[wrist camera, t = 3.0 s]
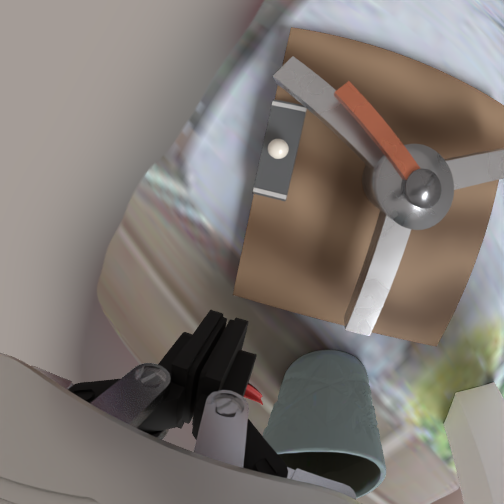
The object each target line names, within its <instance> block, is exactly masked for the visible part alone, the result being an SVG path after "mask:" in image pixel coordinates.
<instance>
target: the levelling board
mask: <svg viewBox="0 0 504 504" xmlns="http://www.w3.org/2000/svg"><path fill="white" fill-rule="evenodd" d="M292 56H293V57H295V58H296V59H298V60H299V61H300V62H302V63H303V64H304V65H306V66H307V67H308V68H309V69H311V70H312V71H313V72H315V73H316V74H317V75H318V76H320V77H321V78H322V79H323V80H324V81H326V82H327V83H328V84H329V85H331V86H332V87H333V88H334V89H335V90H336V91H337V90H338V89H339V88H340V87H342V86H343V85H344V84H346V83H347V82H348V81H350V82H351V83H352V85H353V86H354V87H355V88H356V89H357V90H358V91H359V92H360V93H361V94H362V95H363V96H364V97H365V99H366V100H367V101H368V102H369V103H370V104H371V105H372V106H373V108H374V109H375V110H376V111H377V112H378V113H379V115H380V116H381V117H382V118H383V119H384V121H385V122H386V123H387V124H388V125H389V127H390V128H391V129H392V130H393V132H394V133H395V134H396V136H397V137H398V138H399V139H400V141H401V142H402V143H403V145H407V144H421V145H425V146H428V147H430V148H432V149H433V150H435V151H436V152H438V153H439V154H440V155H441V156H442V157H443V158H444V159H447V158H452V157H457V156H462V155H467V154H472V153H477V152H483V151H488V150H494V149H500V148H504V105H502V104H501V103H499V102H498V101H496V100H494V99H493V98H491V97H489V96H488V95H486V94H484V93H483V92H481V91H479V90H477V89H476V88H474V87H472V86H470V85H468V84H466V83H464V82H462V81H460V80H458V79H456V78H454V77H452V76H450V75H448V74H446V73H444V72H442V71H440V70H437V69H435V68H433V67H431V66H428V65H426V64H424V63H421V62H419V61H416V60H414V59H411V58H408V57H406V56H403V55H400V54H397V53H395V52H392V51H389V50H386V49H383V48H379V47H376V46H373V45H370V44H366V43H363V42H359V41H355V40H351V39H348V38H344V37H339V36H335V35H330V34H326V33H321V32H316V31H310V30H304V29H298V28H292V27H291V30H290V34H289V39H288V43H287V47H286V52H285V56H284V60H283V65H284V64H285V63H286V62H287V61H288V60H289V59H290V58H291V57H292ZM283 65H282V66H283ZM275 100H280V101H285V102H290V103H295V104H300V105H302V104H301V103H300V102H299V101H297V100H296V99H295V98H294V97H292V96H291V95H290V94H289V93H288V92H286V91H285V90H284V89H282V88H281V87H280V86H279V85H278V87H277V91H276V96H275ZM365 165H366V164H365V163H364V162H363V161H362V160H361V159H360V158H359V157H358V156H357V155H356V154H355V153H354V152H353V151H352V150H351V149H350V148H349V147H348V146H347V145H346V144H345V143H344V142H343V141H342V140H341V139H340V138H339V137H338V136H337V135H336V134H335V133H334V132H333V131H332V130H330V129H329V128H328V127H327V126H326V125H325V124H324V123H323V122H322V121H321V120H319V119H318V118H317V117H316V116H315V115H314V114H313V113H311V112H310V111H309V110H308V109H307V111H306V116H305V120H304V125H303V129H302V134H301V138H300V143H299V147H298V152H297V156H296V160H295V165H294V169H293V173H292V178H291V182H290V186H289V191H288V195H287V199H286V201H281V200H277V199H273V198H269V197H265V196H261V195H257V194H254V196H253V201H252V205H251V210H250V215H249V220H248V224H247V229H246V234H245V239H244V243H243V248H242V253H241V258H240V262H239V267H238V272H237V277H236V282H235V287H234V292H233V295H235V296H239V297H242V298H245V299H249V300H252V301H255V302H259V303H262V304H266V305H269V306H273V307H276V308H280V309H284V310H287V311H291V312H294V313H298V314H302V315H306V316H309V317H313V318H317V319H321V320H325V321H328V322H332V323H336V324H340V325H344V326H345V324H344V315H345V313H346V310H347V308H348V305H349V302H350V300H351V297H352V294H353V292H354V289H355V286H356V284H357V281H358V278H359V275H360V272H361V269H362V267H363V264H364V261H365V258H366V255H367V252H368V249H369V246H370V242H371V239H372V236H373V233H374V230H375V226H376V223H377V220H378V216H379V213H380V210H379V209H378V208H376V207H375V206H374V205H373V204H372V203H371V202H370V201H369V200H368V198H367V196H366V194H365V192H364V189H363V184H362V175H363V170H364V167H365ZM498 182H499V179H498V180H494V181H490V182H486V183H481V184H477V185H473V186H469V187H464V188H460V189H456V190H454V196H453V201H452V204H451V207H450V209H449V211H448V212H447V214H446V215H445V217H444V218H443V219H442V220H441V221H440V222H439V223H437V224H436V225H434V226H432V227H430V228H427V229H423V230H412V229H411V232H410V235H409V238H408V241H407V244H406V247H405V250H404V253H403V256H402V259H401V261H400V264H399V267H398V270H397V272H396V275H395V278H394V280H393V283H392V285H391V288H390V290H389V293H388V295H387V298H386V300H385V303H384V305H383V307H382V310H381V312H380V314H379V317H378V319H377V321H376V323H375V326H374V328H373V330H372V332H373V333H377V334H381V335H386V336H390V337H395V338H399V339H404V340H408V341H413V342H417V343H422V344H427V345H432V346H437V345H438V343H439V341H440V339H441V337H442V335H443V333H444V332H445V330H446V328H447V326H448V324H449V322H450V320H451V318H452V316H453V314H454V312H455V309H456V307H457V305H458V303H459V301H460V298H461V296H462V294H463V292H464V289H465V287H466V285H467V282H468V280H469V277H470V275H471V272H472V270H473V267H474V264H475V262H476V259H477V256H478V253H479V250H480V247H481V245H482V241H483V238H484V235H485V232H486V229H487V225H488V222H489V218H490V215H491V211H492V207H493V203H494V199H495V195H496V191H497V186H498Z"/></svg>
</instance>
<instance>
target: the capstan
mask: <svg viewBox="0 0 504 504" xmlns="http://www.w3.org/2000/svg"><path fill="white" fill-rule="evenodd" d="M273 78H274V80H275V82H276V83H277V85H279V86H280V87H281V88H282V89H284V90H285V91H286V92H288V93H289V94H290V95H291V96H292V97H294V98H295V99H296V100H297V101H299V102H300V103H301V104H302V105H303V106H304V107H306V108H307V109H308V110H309V111H310V112H311V113H313V114H314V115H315V116H316V117H317V118H318V119H319V120H321V121H322V122H323V123H324V124H325V125H326V126H327V127H328V128H329V129H330V130H332V131H333V132H334V133H335V134H336V135H337V136H338V137H339V138H340V139H341V140H342V141H343V142H344V143H345V144H346V145H347V146H348V147H349V148H350V149H351V150H352V151H353V152H354V153H355V154H356V155H357V156H358V157H359V158H360V159H361V160H362V161H363V162H364V163H365V164H366V165H365V167H364V170H363V175H362V184H363V189H364V192H365V194H366V196H367V198H368V200H369V201H370V202H371V203H372V204H373V205H374V206H375V207H376V208H378V209H379V210H380V213H379V216H378V220H377V223H376V226H375V230H374V233H373V236H372V239H371V242H370V246H369V249H368V252H367V255H366V258H365V261H364V264H363V267H362V269H361V272H360V275H359V278H358V281H357V284H356V286H355V289H354V292H353V294H352V297H351V300H350V302H349V305H348V308H347V310H346V313H345V315H344V324H345V330H346V331H350V332H354V333H358V334H362V335H366V336H370V334H371V332H372V330H373V328H374V326H375V323H376V321H377V319H378V317H379V314H380V312H381V310H382V307H383V305H384V303H385V300H386V298H387V295H388V293H389V290H390V288H391V285H392V283H393V280H394V278H395V275H396V272H397V270H398V267H399V264H400V261H401V259H402V256H403V253H404V250H405V247H406V244H407V241H408V238H409V235H410V232H411V229H412V230H423V229H427V228H430V227H432V226H434V225H436V224H437V223H439V222H440V221H441V220H442V219H443V218H444V217H445V215H446V214H447V212H448V211H449V209H450V207H451V204H452V201H453V196H454V190H456V189H460V188H464V187H469V186H473V185H477V184H481V183H486V182H490V181H494V180H498V179H503V178H504V148H500V149H494V150H488V151H483V152H477V153H472V154H467V155H462V156H457V157H452V158H447V159H444V158H443V157H442V156H441V155H440V154H439V153H438V152H436V151H435V150H433V149H432V148H430V147H428V146H425V145H421V144H407V145H403V143H402V142H401V141H400V139H399V138H398V137H397V136H396V134H395V133H394V132H393V130H392V129H391V128H390V127H389V125H388V124H387V123H386V122H385V121H384V119H383V118H382V117H381V116H380V115H379V113H378V112H377V111H376V110H375V109H374V108H373V106H372V105H371V104H370V103H369V102H368V101H367V100H366V99H365V97H364V96H363V95H362V94H361V93H360V92H359V91H358V90H357V89H356V88H355V87H354V86H353V85H352V83H351V82H350V81H348V82H347V83H346V84H344V85H343V86H342V87H340V88H339V89H338V90H337V91H336V90H335V89H334V88H333V87H332V86H331V85H329V84H328V83H327V82H326V81H324V80H323V79H322V78H321V77H320V76H318V75H317V74H316V73H315V72H313V71H312V70H311V69H309V68H308V67H307V66H306V65H304V64H303V63H302V62H300V61H299V60H298V59H296V58H295V57H293V56H292V57H291V58H290V59H289V60H288V61H287V62H286V63H285V64H284V65H283V66H282V67H281V68H280V69H279V70H278V71H277V72H276V73H275V74H274V75H273Z"/></svg>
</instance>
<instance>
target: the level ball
mask: <svg viewBox="0 0 504 504" xmlns="http://www.w3.org/2000/svg"><path fill="white" fill-rule="evenodd" d="M288 151H289V147H288V144H287V143H286V142H285V141H284V140H282V139H274V140H272V141H271V142H270V143H269V145H268V153H269V154H270V156H271V157H273V158H275V159H282V158H284V157H285V156H286V155H287V154H288Z"/></svg>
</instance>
